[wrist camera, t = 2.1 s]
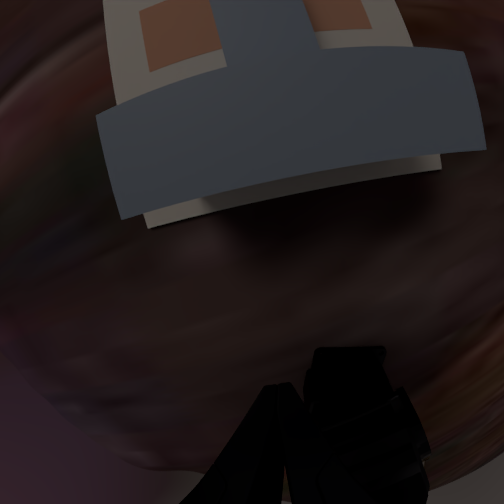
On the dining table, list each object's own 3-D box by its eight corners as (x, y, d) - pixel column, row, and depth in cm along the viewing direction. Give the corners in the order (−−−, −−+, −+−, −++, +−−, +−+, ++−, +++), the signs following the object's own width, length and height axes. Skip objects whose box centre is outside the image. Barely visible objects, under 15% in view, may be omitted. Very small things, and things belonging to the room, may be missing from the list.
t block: (392, 146, 17) (486, 149, 8) (191, 186, 19) (121, 220, 10) (338, -22, 13) (372, -102, 4) (152, 14, 15) (84, -50, 5)
